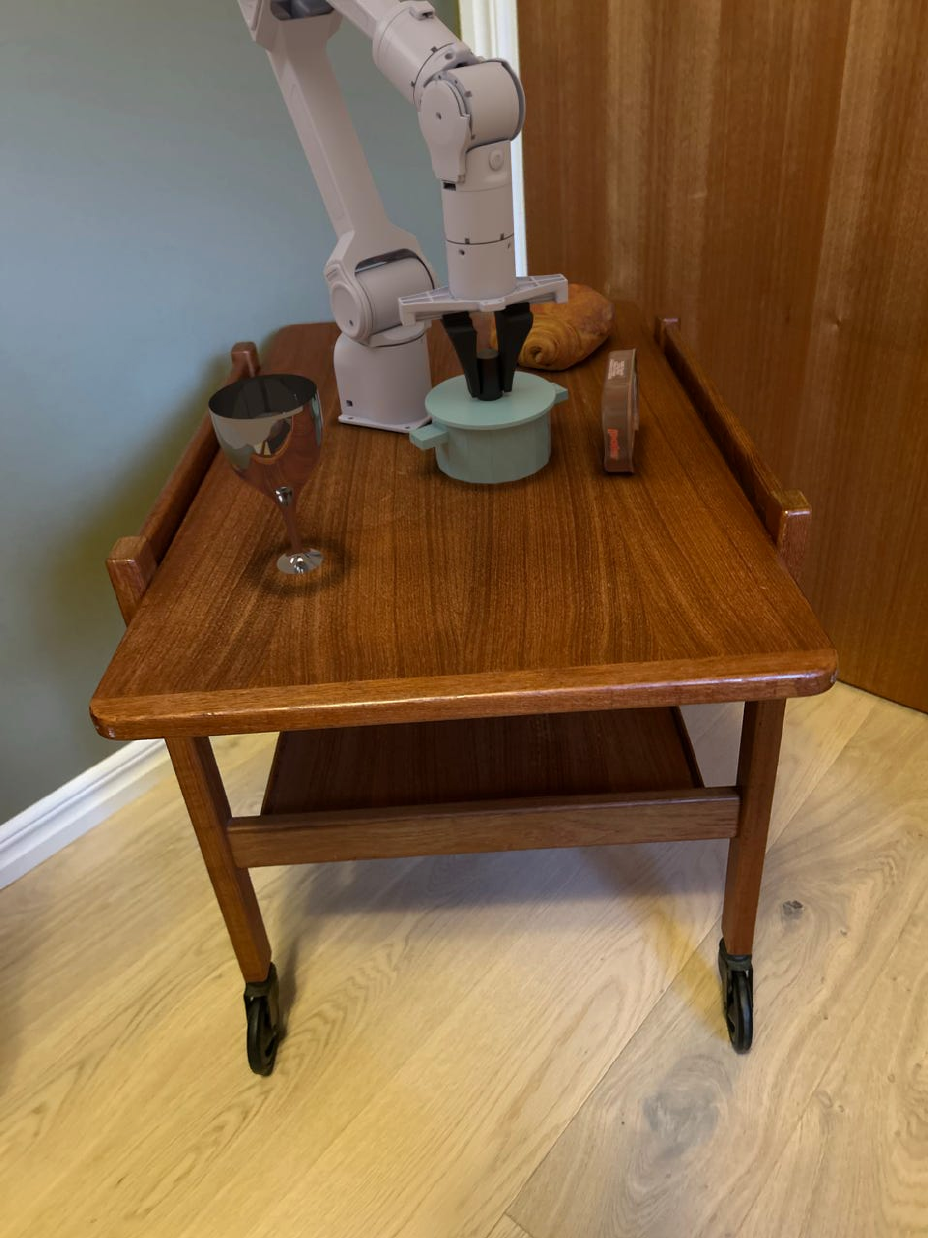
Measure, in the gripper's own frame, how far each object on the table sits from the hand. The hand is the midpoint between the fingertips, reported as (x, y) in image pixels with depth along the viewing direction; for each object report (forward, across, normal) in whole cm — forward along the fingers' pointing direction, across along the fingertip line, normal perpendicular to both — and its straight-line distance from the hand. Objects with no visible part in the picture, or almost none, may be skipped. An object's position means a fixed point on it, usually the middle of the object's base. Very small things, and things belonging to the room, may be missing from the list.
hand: (489, 390), depth 83 cm
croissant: (+7, +13, +25) cm, 30 cm away
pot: (+7, 0, 0) cm, 7 cm away
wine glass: (+7, -20, -12) cm, 24 cm away
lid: (+1, 0, 0) cm, 1 cm away
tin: (+7, +12, -2) cm, 14 cm away
